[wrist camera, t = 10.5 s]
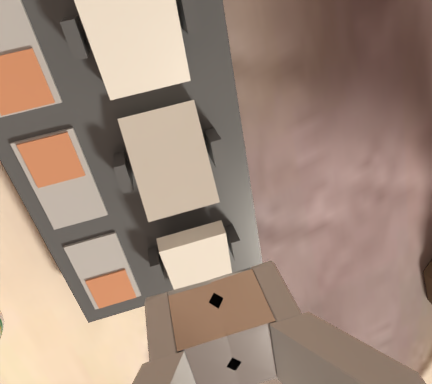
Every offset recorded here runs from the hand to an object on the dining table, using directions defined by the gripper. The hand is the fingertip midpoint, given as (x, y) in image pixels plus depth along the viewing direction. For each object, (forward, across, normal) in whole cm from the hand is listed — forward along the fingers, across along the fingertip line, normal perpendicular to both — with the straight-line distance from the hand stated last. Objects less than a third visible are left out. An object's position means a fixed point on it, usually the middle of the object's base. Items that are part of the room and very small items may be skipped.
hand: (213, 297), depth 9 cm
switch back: (+13, 0, +10) cm, 16 cm away
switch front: (+13, 0, -4) cm, 14 cm away
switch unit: (+17, +2, +2) cm, 17 cm away
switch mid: (+13, 0, +2) cm, 13 cm away
